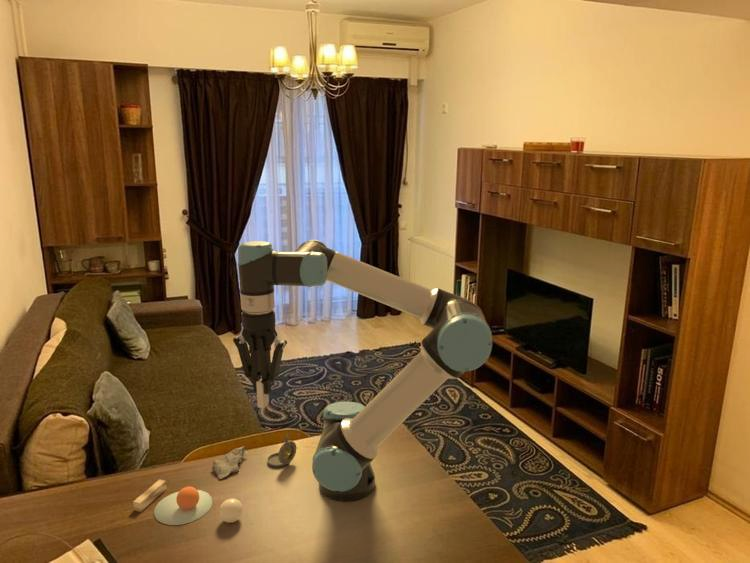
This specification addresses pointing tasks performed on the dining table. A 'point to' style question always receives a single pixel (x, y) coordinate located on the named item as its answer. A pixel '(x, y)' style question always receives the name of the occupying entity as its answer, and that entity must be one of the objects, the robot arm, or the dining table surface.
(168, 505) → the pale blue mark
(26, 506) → the dining table surface
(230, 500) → the cue ball
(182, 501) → the object ball
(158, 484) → the birch rail
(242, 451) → the mineral specimen
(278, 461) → the pocket watch
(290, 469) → the dining table surface
